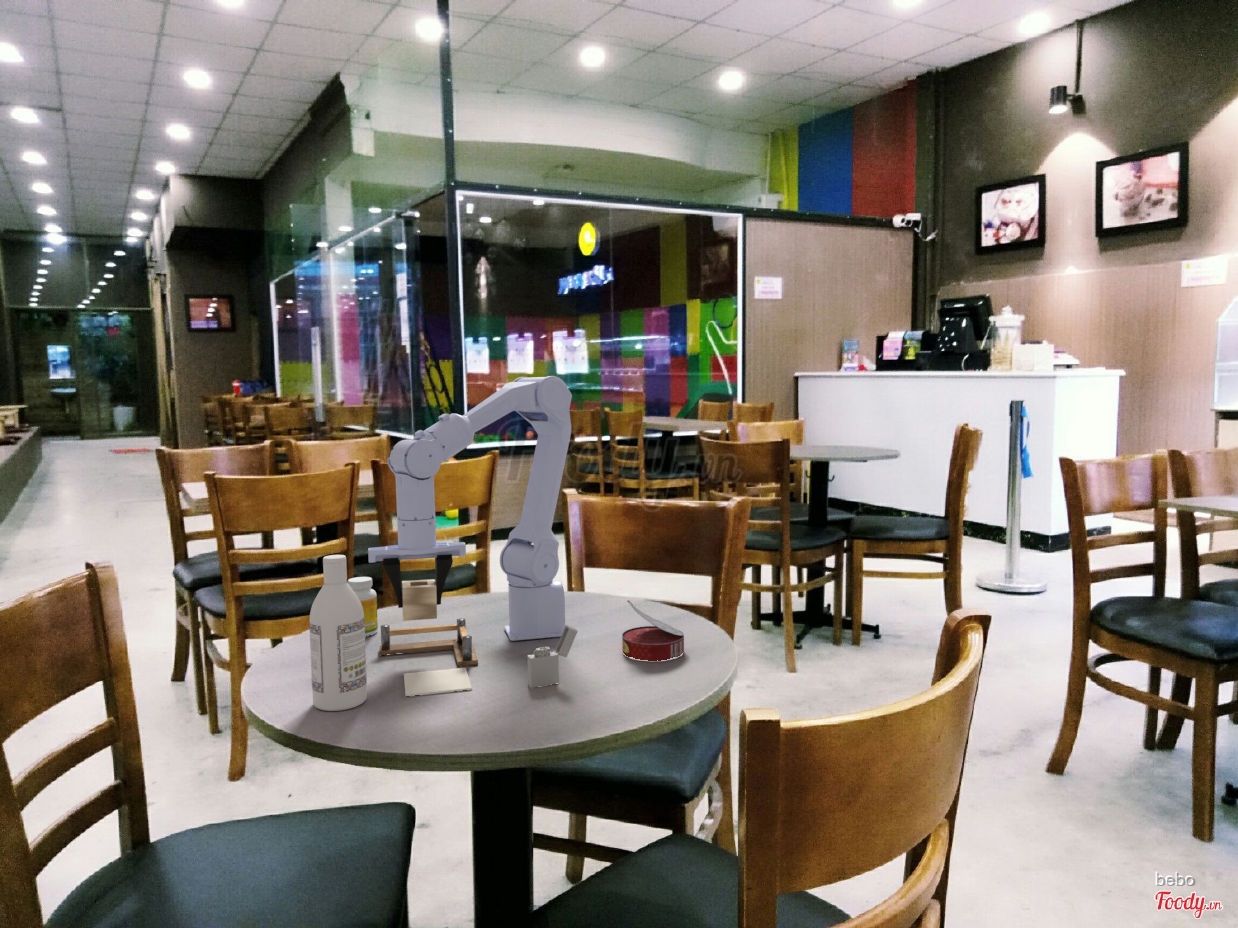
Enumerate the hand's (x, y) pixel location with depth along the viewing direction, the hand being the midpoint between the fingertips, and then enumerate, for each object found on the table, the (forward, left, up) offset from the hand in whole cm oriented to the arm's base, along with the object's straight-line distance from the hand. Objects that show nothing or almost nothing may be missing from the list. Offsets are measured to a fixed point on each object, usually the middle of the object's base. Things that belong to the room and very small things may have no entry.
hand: (419, 604), depth 129 cm
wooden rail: (-1, -1, -9) cm, 9 cm away
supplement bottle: (+9, -18, -9) cm, 22 cm away
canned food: (-36, +7, -9) cm, 38 cm away
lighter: (-18, +16, -9) cm, 26 cm away
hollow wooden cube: (0, 0, -2) cm, 2 cm away
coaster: (-2, +11, -9) cm, 14 cm away
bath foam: (+11, +15, -9) cm, 21 cm away
